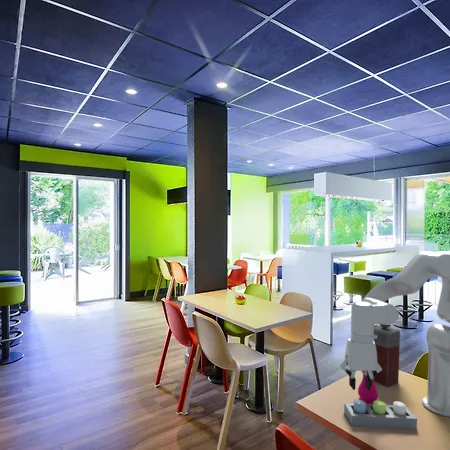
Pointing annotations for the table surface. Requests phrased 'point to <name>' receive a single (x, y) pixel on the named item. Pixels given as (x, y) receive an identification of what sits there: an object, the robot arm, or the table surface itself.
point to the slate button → (359, 407)
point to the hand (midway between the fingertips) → (360, 387)
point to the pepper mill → (367, 391)
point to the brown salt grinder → (387, 354)
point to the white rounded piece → (399, 408)
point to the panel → (380, 418)
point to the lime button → (379, 407)
